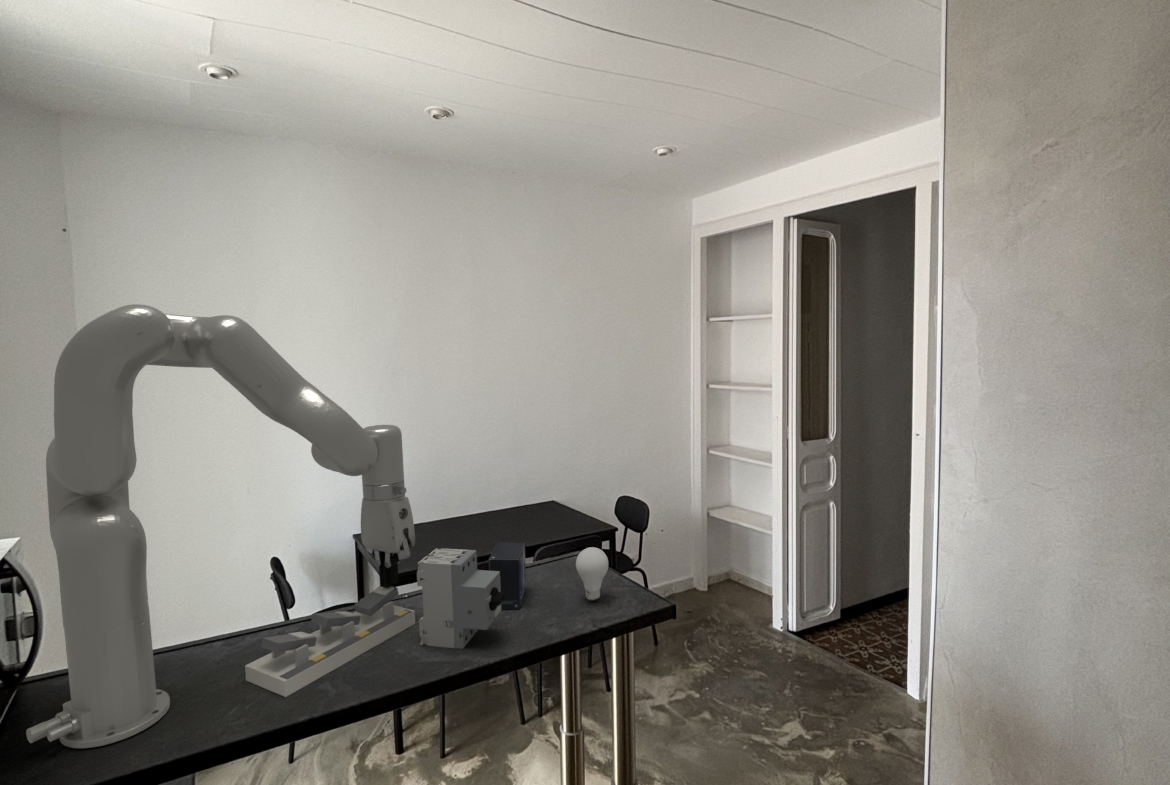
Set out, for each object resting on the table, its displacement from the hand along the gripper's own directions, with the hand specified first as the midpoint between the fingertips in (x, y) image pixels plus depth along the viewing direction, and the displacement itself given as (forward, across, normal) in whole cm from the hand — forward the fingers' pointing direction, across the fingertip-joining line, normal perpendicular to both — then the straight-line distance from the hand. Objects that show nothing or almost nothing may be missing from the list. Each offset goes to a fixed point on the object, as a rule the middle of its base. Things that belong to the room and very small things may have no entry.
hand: (389, 584), depth 116 cm
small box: (+8, -14, -18) cm, 25 cm away
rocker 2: (+2, 0, +12) cm, 12 cm away
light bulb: (+8, -30, -25) cm, 40 cm away
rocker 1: (+2, 0, +21) cm, 21 cm away
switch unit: (+7, 0, +12) cm, 14 cm away
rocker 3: (+2, 0, +3) cm, 4 cm away
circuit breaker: (+8, -17, -1) cm, 19 cm away
